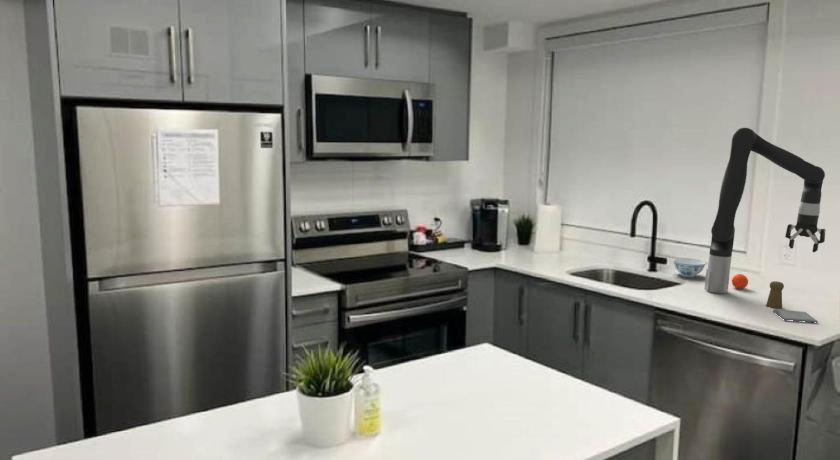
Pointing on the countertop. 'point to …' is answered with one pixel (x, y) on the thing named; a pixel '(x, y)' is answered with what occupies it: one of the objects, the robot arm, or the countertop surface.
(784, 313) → the trivet
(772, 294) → the cork
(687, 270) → the chinaware
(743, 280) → the clementine
